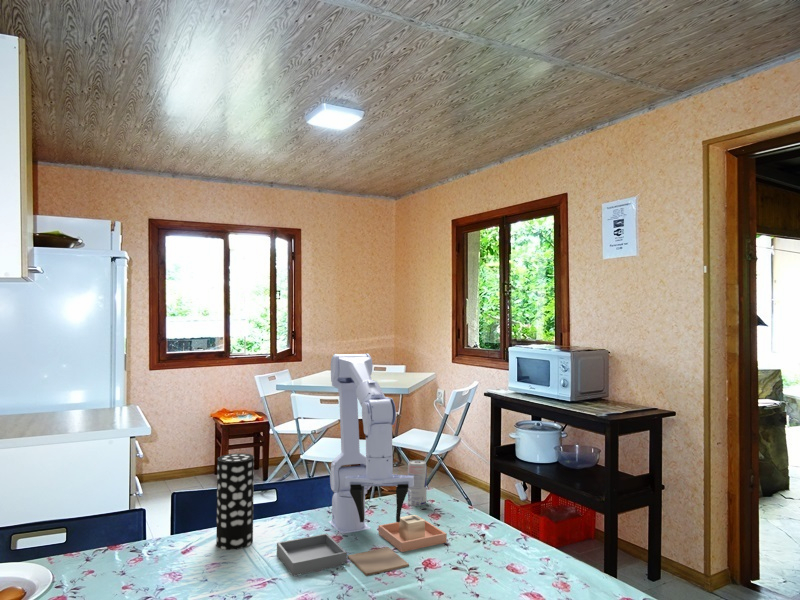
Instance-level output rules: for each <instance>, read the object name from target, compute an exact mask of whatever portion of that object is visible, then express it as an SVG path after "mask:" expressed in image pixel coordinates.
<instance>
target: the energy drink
mask: <svg viewBox="0 0 800 600" xmlns="http://www.w3.org/2000/svg"><path fill="white" fill-rule="evenodd" d="M427 469H428V468H427V461H425V460H423V459H422V460H421V459H413V460H409V461H408V464H407V475H408V476H414V486H413V487H409V488H408V492H407V504H408V506H410V507H414V506H418V507H419V506H424V505H427V492H428V491H427V485H428V484H427V473H428V472H427V471H428V470H427Z"/></svg>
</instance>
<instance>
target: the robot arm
mask: <svg viewBox="0 0 800 600" xmlns="http://www.w3.org/2000/svg"><path fill="white" fill-rule="evenodd" d="M330 359H331V361H330V379H331V380H330V382H331V386H332V387H334V388H336V389H337V392H338V397H339V419H340V421H339V422H340V425H339V426H340V447H341V448H340V451H341V452H340V454H339V455H337V456H336V457H335V458H333V459H332V461H331V463H330V475H329V482H330V488H331V491H332V492H333V494H332V497H331V498H332V499H331V520H328V523H329V524H330V525H331V526H332V527H334V529H336V531H338V532H339V533H340V534H342V535H343V534H344V535H346V534H349V533H350V534H351V533H354V532H359V531H365V530H366V531H367V530H370V529H371V528H372V527H370V526H369V525H368V524H367V523H366V494H368V491H369V490H370V488H371V487H396V488H395V497H396V510H395V511H396V513H395V522H400V517H401V514H402V508H403V504H404V503H405V499H406V497H407V495H408V488H409V487H413V486H414V476H408V474H407V475H405V474H395V473H394V470H393V469H394V468H393V467H394V465H393V463H394V461H393V459H394V458H393V425H394V424H395V422H396V419H397V407H396V403H395V401H394V399H393V398H392V397H389V396H385V394H384V392H383V390H382V388H381V386H380V385H379V383H378V382H377V381H376V380H374V379H372V373H373V367H374V365H373V358H372V356H371V355H370V354H369V353H350V354H349V353H348V354H347V353H345V354H343V353H342V354H341V353H339V354H338V353H334V354H333V355H332V357H331V358H330ZM358 402H359V404H360V407H361V418H362V425H363V433H364V435H365V455H363V454H362V453H361V449H360V448H361V446H360V428H359V426H360V425H359V407H358V406H359V404H358ZM359 464H360V465H359Z"/></svg>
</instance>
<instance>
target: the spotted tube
mask: <svg viewBox="0 0 800 600" xmlns="http://www.w3.org/2000/svg"><path fill="white" fill-rule="evenodd" d="M254 467H255V456H254V454H250V453H241V452H240V453H239V452H238V453H229V454H224V455H223V454H222V455H221V456H219V457H217V467H216V469H217V472H216V474H217V475H216V476H217V477H216V478H217V480H216V483H217V485H216V533H215V534H216V535H215V539H216V545H215V546H216V547H217V548H218V549H221V550H227V551H229V550H230V551H233V550H240V549H244V548H246V547H249V546H250V545H252V544H253V542H254V488H255V487H254V481H255V480H254V478H255V477H254V475H255V473H254V472H255V469H254Z"/></svg>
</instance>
